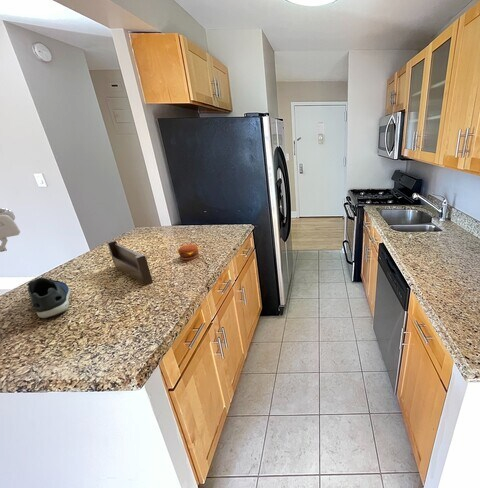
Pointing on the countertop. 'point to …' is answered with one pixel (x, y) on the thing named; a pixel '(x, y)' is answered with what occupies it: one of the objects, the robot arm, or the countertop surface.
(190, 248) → the hamburger
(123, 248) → the dark brown channel tray
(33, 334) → the countertop surface
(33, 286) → the water shoe
